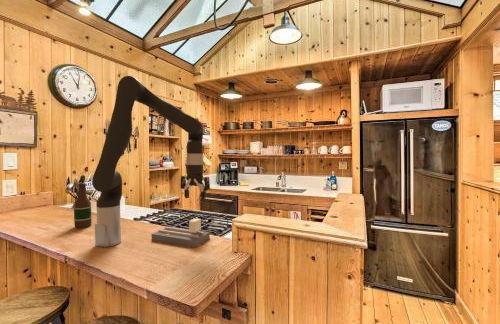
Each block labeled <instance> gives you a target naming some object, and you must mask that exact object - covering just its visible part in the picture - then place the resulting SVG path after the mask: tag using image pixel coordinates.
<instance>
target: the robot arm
mask: <svg viewBox="0 0 500 324" xmlns="http://www.w3.org/2000/svg"><path fill="white" fill-rule="evenodd" d="M136 102H137V103H139V104H142V105H144V106H146V107H148V108H149V109H151V110H153V111H154V112H156V113H157V114H158V115H159V116H161V117H163V118H164V119H165V120H168V121H169V122H170V123H172V124H174V125H176V126H178V127H180V129H182V130H184V131H185V132H187V135H188V137H187V143H186V157H185V163H186V165H185V166H186V167H185V169H186V170H185V171H186V173H185V174H186V175H181V176H180V186H179V187H180V189H181V190H184V191H183V192H184V197H185V199H189V198H190V189H191V187H194V186H195V187H198V188H199V189H200V200H202V201H203V200H206V197H207V191H209V190H210V189H211V186H210V185H211V184H210V177H209V176H203V175H204V155H203V138H204V125H203V124H202V122H201V121H200V120H198V119H197V118H195V117H194V116H192V115H190V114H188V113H186V112H185V111H183V110H182V109H180V108H179V107H177V106H176V105H173V104H172V103H171V102H168V101H166V100H164V99H162V98H161V97H159V96H158V95H156V94H154V93H153V92H152V91H151V90H150V89H148V87H146V86H145V85H144V84H143V83H142V81H140V80H139V79H137V78H136V77H134V76H132V75H124V76H123V77H122V78H120V80H119V81H118V84H117V88H116V95H115V102H114V105H113V106H114V107H113V111H112V113H111V117H110V121H109V123H108V124H109V125H108V128H107V132H106V134H105V135H106V136H105V140H104V144H103V146H102V151H101V154H100V157H99V161H98V162H97V165H96V168H95V171H94V173H93V175H92V180H91V182H92V184H91V185H92V186H93V188H94V190H95V191H97V192H99V193H100V196H99V197H98V199H96V206H95V207H96V223H95V224H94V244H95V247H101V248H107V247H112V246H116V245H118V244H120V243H121V242H122V228H121V227H122V226H121V200H122V198H123V197H122V196H123V178H122V174H121V173H120V172H119V171H118V170H116V168H117V166H118V163H119V160H120V159H121V157H122V156H123V154H124V153H125V151H126V150H127V148H128V146H129V144H130V140H131V135H132V134H133V117H132V114H133V107H134V105H135V103H136Z"/></svg>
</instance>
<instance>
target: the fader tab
mask: <svg viewBox="0 0 500 324" xmlns="http://www.w3.org/2000/svg"><path fill="white" fill-rule="evenodd" d="M188 224H189V225H188V227H189V232H192V234H195V235H198V231H202V219H201V218H193V219H190V220H189V221H188Z"/></svg>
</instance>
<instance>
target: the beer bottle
mask: <svg viewBox="0 0 500 324" xmlns="http://www.w3.org/2000/svg"><path fill="white" fill-rule="evenodd" d="M77 186H78V191H77V198H76V200H75V202H74V203H73V217H74V219H73V223H74V225H73V226H74V228H75V229H77V230H78V229H82V230H83V229H86V228H90V227H91V226H92V202H91V201H90V199H89V198H88V196H87V189H86V188H87V187H86V186H87V183H85V182H80V183H77Z"/></svg>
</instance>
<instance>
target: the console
mask: <svg viewBox="0 0 500 324" xmlns="http://www.w3.org/2000/svg"><path fill="white" fill-rule="evenodd" d="M210 234H211V232H210V231H202V230H199V231H198V235H195V234H192V232H189V229H188V228H181V227H174V226H164V228H162V229H160V228H159V229H158V231H155V232H153V233H151V241H154V240H155V241H156V242H159V241H160V242H161V243H165V242H166V244H171V243H172V244H173V245H178V246H184V247H189V248H194V249H196V248H197V247H199V246H200V245H202V244H204V243H205V242H207V241H208V240H210V238H211V237H210V236H211V235H210ZM155 241H154V242H155Z"/></svg>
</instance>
